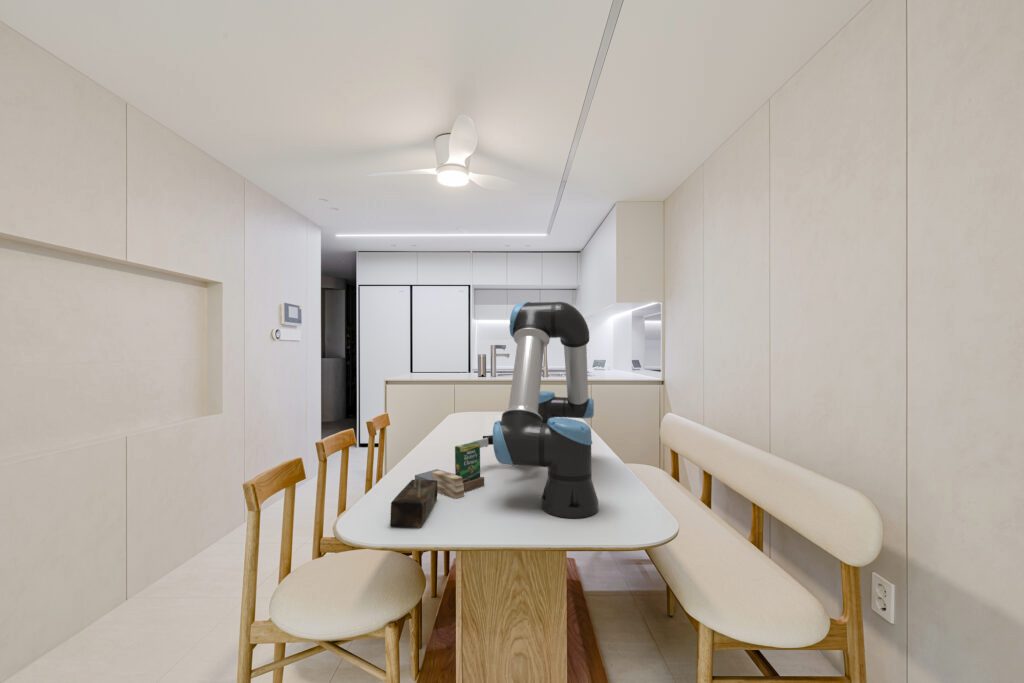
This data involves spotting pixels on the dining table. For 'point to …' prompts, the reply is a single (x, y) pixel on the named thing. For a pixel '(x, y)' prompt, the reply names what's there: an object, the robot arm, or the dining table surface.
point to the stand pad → (427, 475)
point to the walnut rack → (473, 484)
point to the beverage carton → (413, 503)
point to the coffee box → (467, 461)
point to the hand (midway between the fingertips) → (488, 448)
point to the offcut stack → (449, 484)
